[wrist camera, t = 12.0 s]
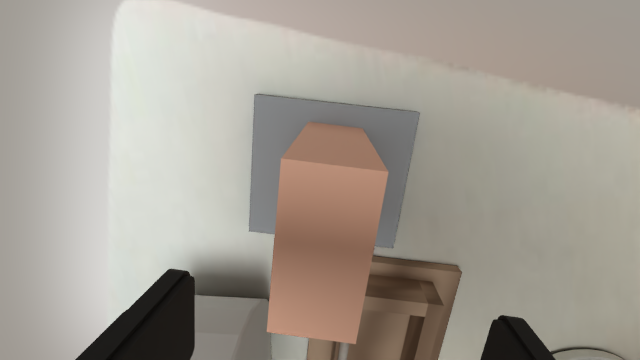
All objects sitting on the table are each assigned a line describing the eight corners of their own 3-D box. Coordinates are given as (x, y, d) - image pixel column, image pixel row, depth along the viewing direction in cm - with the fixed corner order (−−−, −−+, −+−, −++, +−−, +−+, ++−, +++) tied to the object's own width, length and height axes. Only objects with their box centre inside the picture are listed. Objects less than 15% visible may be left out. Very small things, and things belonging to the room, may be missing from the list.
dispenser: (457, 265, 27) (481, 302, 22) (424, 387, 31) (439, 438, 27) (319, 249, 27) (316, 282, 23) (305, 372, 31) (299, 421, 27)
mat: (416, 111, 23) (419, 112, 22) (391, 242, 27) (393, 248, 26) (257, 94, 24) (254, 94, 23) (252, 226, 27) (248, 231, 26)
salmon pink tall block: (362, 128, 23) (388, 172, 11) (346, 226, 25) (355, 344, 14) (308, 121, 23) (281, 158, 12) (298, 220, 25) (266, 331, 14)
